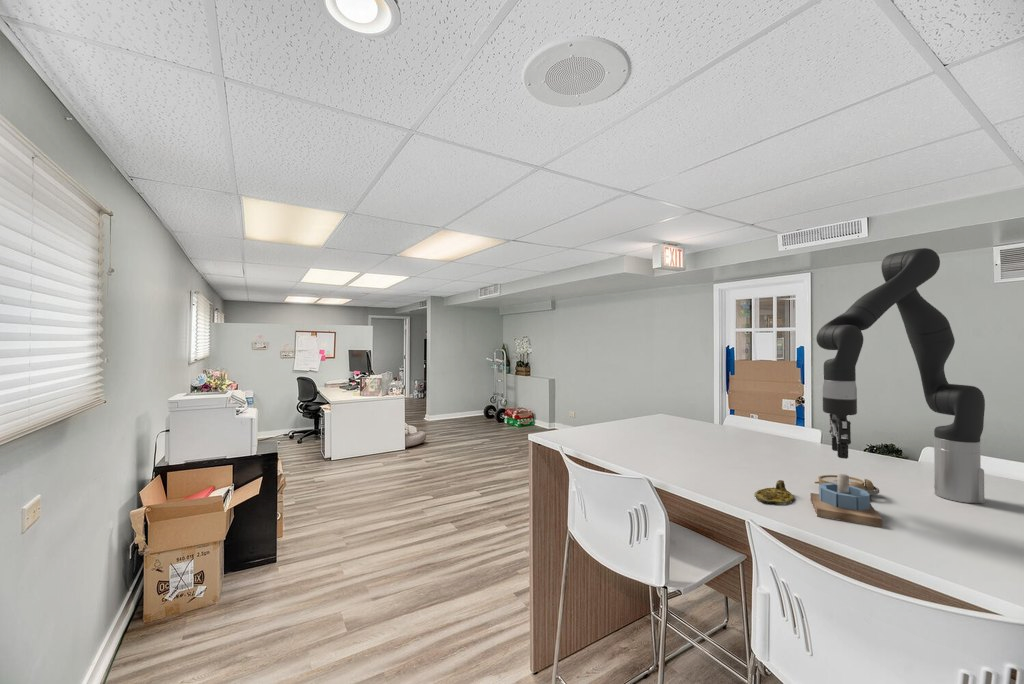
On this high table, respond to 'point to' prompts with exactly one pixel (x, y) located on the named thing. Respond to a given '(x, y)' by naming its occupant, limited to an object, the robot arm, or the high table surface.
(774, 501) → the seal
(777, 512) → the high table surface
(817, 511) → the wooden peg stand
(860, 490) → the rubber loop
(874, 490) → the alarm clock
